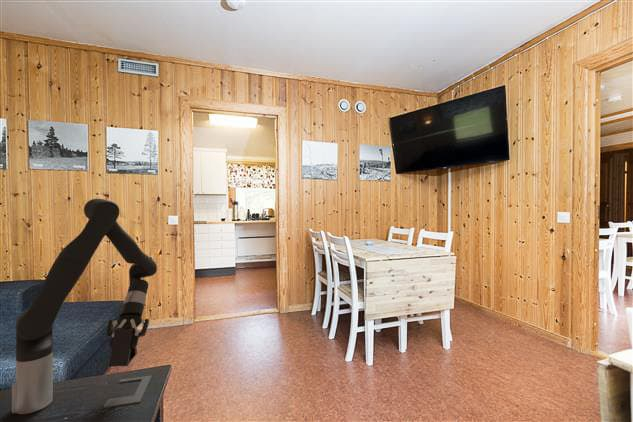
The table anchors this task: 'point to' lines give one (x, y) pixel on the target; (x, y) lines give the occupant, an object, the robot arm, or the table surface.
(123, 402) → the bracket
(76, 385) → the table surface
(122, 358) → the phone stand
